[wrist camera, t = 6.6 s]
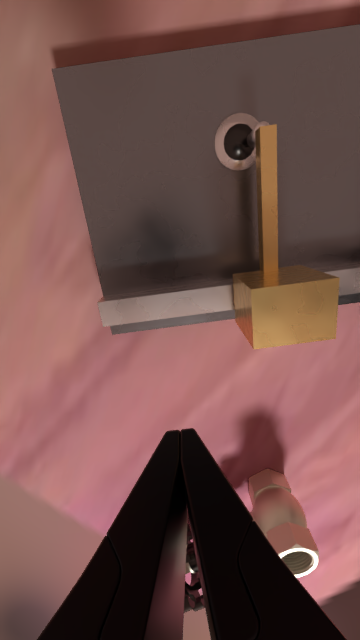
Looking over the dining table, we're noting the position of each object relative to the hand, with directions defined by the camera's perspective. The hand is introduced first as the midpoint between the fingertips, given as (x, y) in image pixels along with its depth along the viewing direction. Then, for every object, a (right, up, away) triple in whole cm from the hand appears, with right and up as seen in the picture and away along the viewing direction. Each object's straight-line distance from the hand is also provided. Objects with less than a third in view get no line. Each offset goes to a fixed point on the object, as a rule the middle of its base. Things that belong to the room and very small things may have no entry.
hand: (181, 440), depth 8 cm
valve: (+5, -14, +19) cm, 24 cm away
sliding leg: (+5, +9, +9) cm, 13 cm away
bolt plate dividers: (+5, +11, +9) cm, 16 cm away
